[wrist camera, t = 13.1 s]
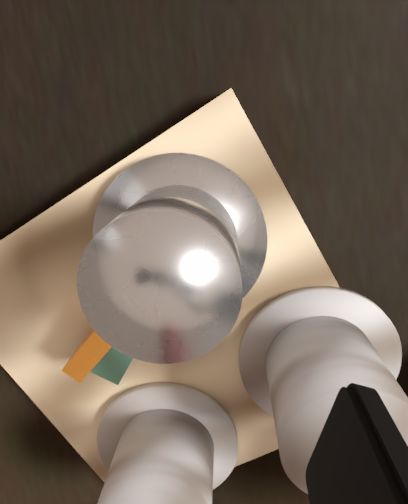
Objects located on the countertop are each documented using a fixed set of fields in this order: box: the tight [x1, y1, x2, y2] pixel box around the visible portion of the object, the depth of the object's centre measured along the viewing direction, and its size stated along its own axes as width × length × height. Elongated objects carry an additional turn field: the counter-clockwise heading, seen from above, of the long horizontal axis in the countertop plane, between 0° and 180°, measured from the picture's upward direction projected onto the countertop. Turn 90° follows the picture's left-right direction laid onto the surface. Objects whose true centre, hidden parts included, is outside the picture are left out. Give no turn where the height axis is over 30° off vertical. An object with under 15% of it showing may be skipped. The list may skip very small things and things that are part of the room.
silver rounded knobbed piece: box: [62, 152, 267, 383], centre depth 17 cm, size 14×9×7 cm, turn 141°
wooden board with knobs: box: [0, 88, 408, 504], centre depth 19 cm, size 20×22×9 cm
